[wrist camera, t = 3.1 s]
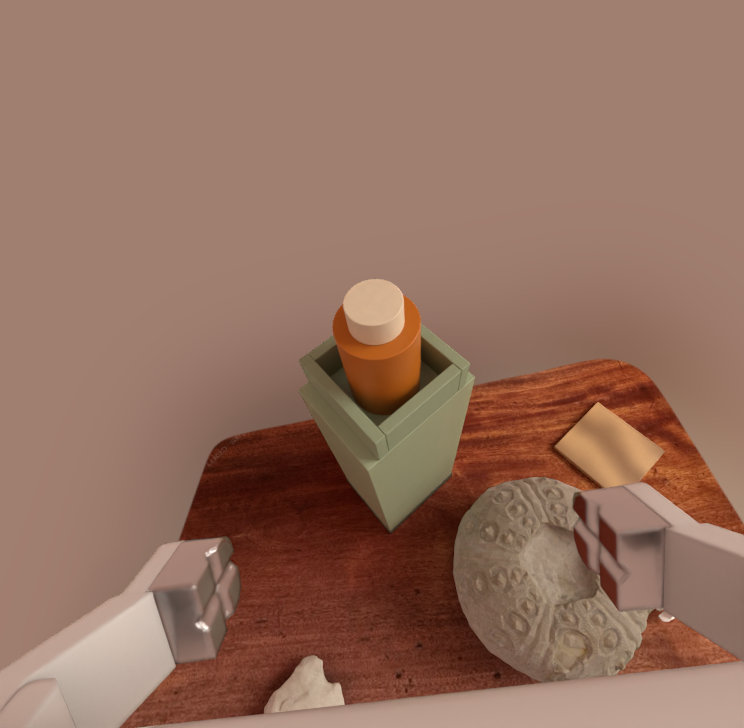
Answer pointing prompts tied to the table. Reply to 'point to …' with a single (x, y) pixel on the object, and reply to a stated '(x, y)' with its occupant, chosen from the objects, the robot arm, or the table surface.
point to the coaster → (608, 449)
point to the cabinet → (392, 428)
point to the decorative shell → (538, 586)
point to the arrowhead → (305, 689)
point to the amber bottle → (379, 345)
